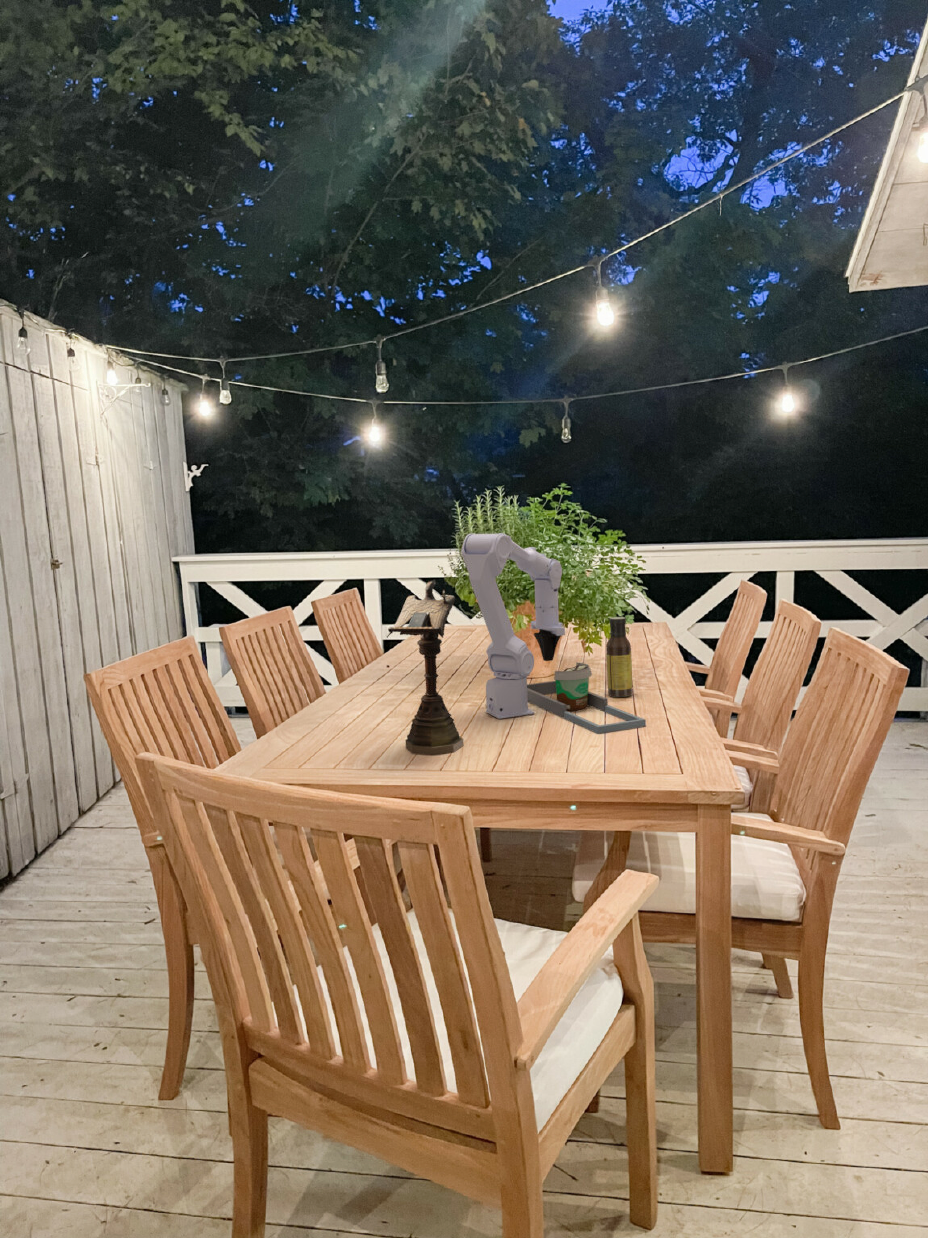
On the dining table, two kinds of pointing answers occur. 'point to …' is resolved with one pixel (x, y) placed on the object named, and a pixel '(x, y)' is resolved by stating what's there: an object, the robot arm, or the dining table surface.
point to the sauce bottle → (619, 660)
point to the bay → (630, 723)
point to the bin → (554, 706)
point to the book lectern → (429, 674)
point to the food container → (573, 686)
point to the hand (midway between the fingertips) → (548, 660)
